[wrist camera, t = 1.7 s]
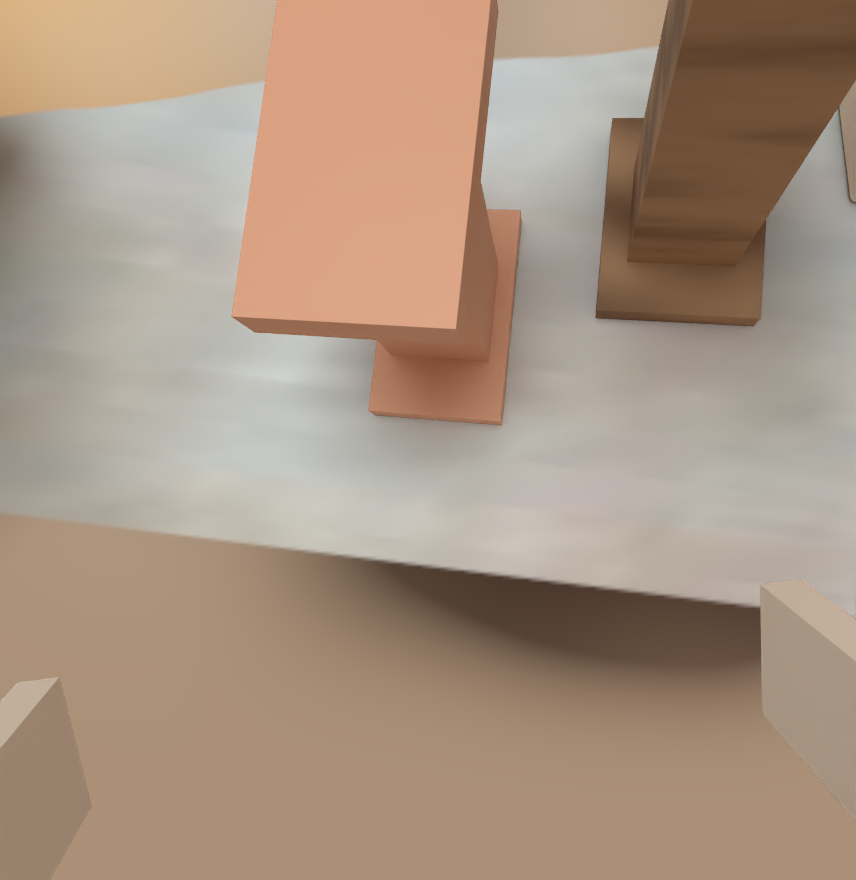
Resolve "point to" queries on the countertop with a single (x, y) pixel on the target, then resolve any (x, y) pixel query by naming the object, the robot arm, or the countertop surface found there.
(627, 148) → the walnut stand
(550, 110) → the countertop surface
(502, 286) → the terracotta stand
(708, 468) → the countertop surface
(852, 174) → the medicine bottle
